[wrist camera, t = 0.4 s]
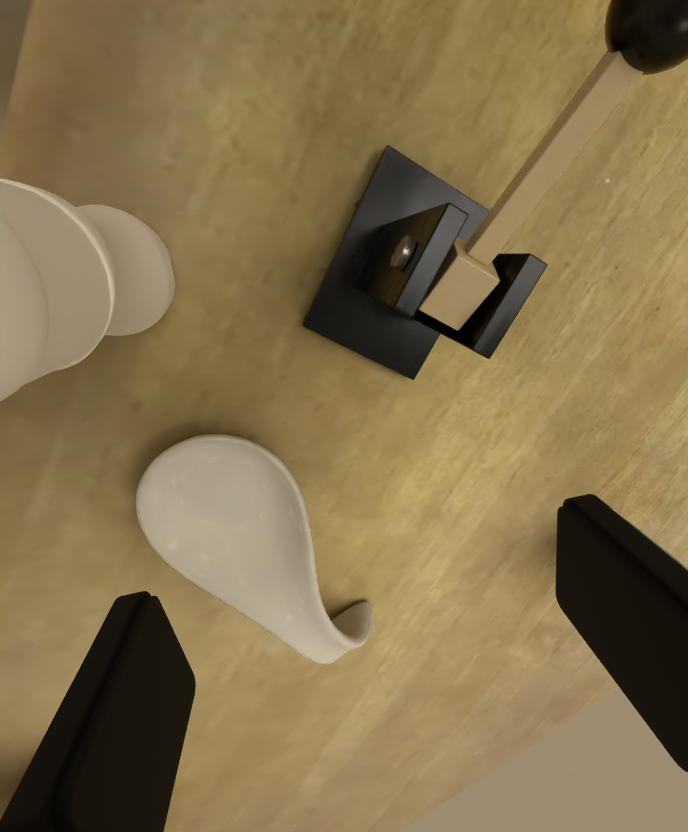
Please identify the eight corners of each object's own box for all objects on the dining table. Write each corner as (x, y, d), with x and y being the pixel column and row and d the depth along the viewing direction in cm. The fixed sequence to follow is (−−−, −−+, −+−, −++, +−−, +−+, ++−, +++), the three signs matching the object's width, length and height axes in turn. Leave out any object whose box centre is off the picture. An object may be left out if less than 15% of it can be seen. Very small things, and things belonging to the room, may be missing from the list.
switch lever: (657, -99, 12) (720, -129, 10) (729, -26, 13) (803, -37, 10) (406, 276, 20) (408, 309, 18) (460, 306, 21) (467, 341, 19)
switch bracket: (383, 149, 26) (459, 59, 14) (496, 222, 28) (643, 198, 16) (302, 323, 29) (308, 369, 17) (409, 375, 32) (479, 448, 20)
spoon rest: (117, 476, 32) (71, 535, 25) (236, 387, 30) (220, 424, 24) (305, 643, 40) (307, 720, 34) (405, 579, 39) (428, 647, 32)
